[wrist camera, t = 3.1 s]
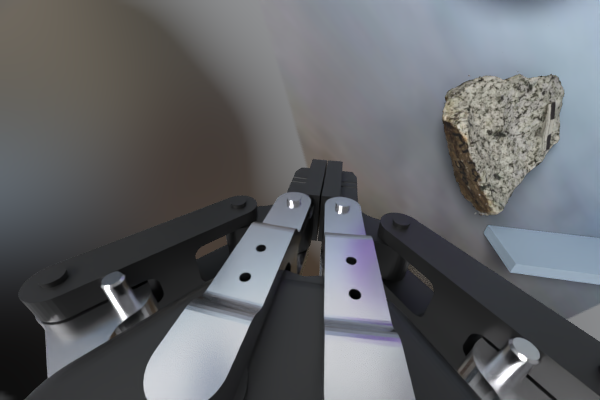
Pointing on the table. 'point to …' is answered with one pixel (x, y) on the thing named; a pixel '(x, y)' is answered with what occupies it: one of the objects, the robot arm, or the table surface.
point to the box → (547, 253)
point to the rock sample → (500, 134)
